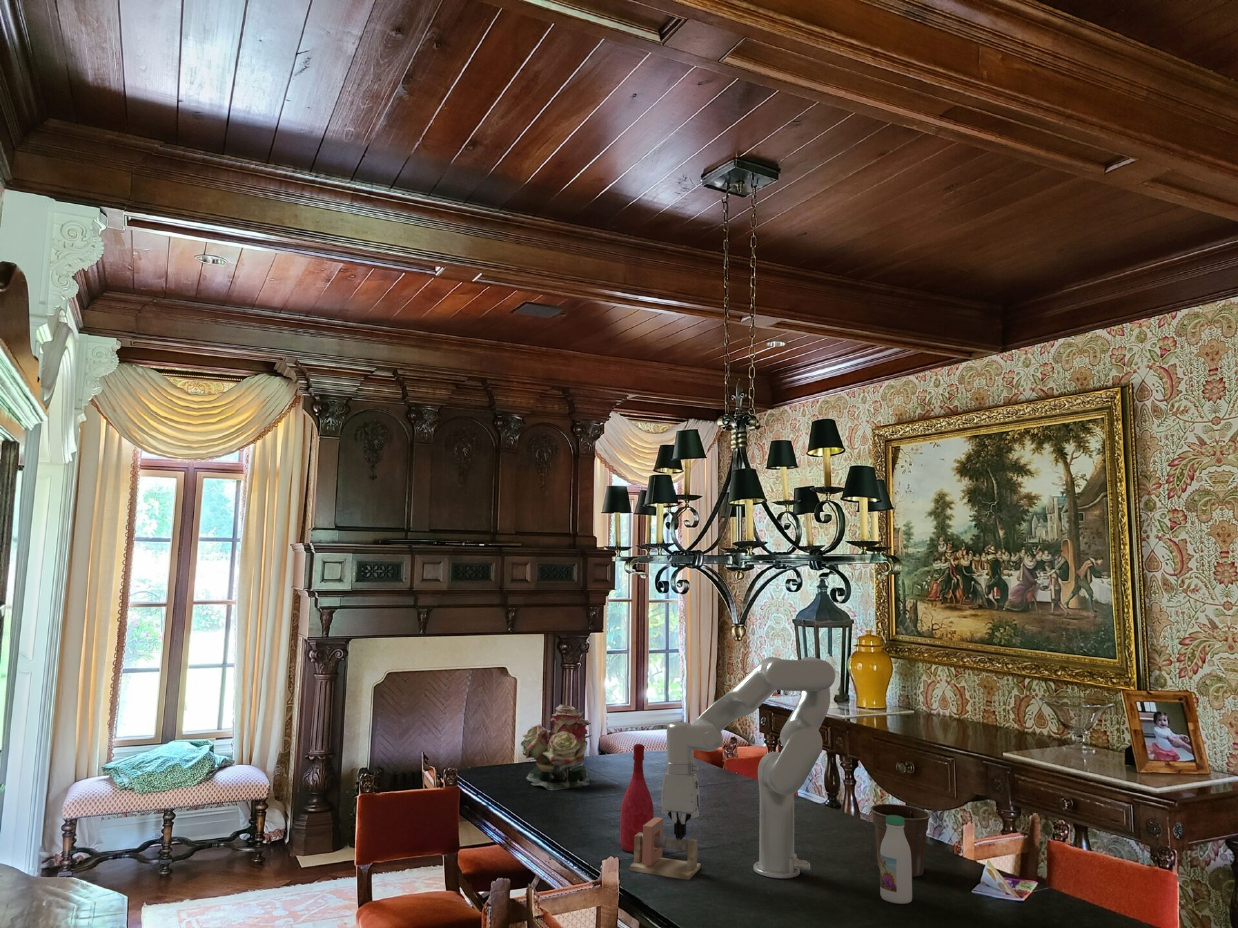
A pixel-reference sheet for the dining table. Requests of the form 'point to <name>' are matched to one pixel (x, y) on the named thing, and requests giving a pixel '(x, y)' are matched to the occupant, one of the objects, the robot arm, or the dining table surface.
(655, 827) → the collar
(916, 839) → the plant pot
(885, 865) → the milk bottle
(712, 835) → the dining table surface
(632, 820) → the wine bottle
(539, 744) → the rose bouquet
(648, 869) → the rail stand
